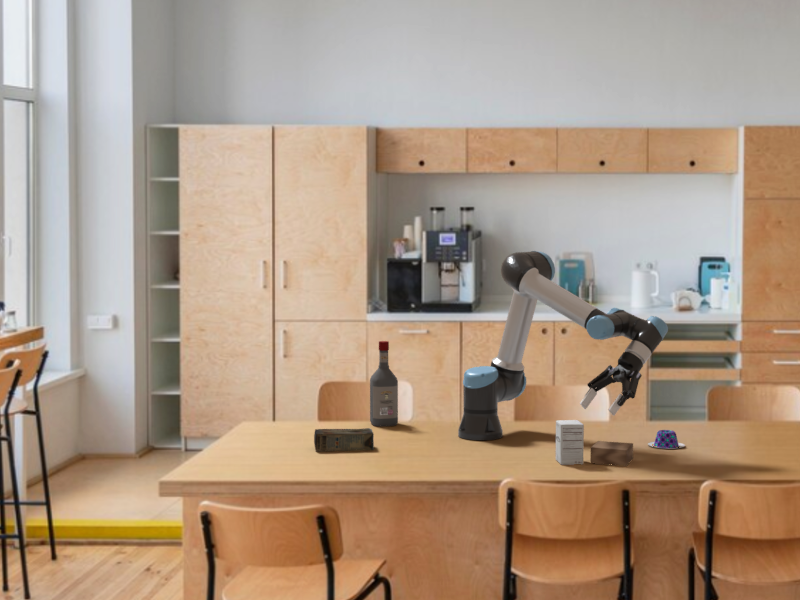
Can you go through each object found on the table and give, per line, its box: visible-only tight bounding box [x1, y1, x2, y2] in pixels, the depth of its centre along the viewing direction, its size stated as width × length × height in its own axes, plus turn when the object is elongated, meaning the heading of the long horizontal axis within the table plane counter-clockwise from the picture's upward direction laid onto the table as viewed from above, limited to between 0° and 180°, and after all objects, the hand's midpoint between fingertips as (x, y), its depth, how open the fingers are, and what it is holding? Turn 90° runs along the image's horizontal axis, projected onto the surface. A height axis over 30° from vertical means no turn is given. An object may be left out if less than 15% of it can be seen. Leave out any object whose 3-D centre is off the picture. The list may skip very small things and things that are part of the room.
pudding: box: [647, 429, 686, 450], centre depth 404 cm, size 12×12×5 cm
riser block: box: [590, 440, 634, 467], centre depth 380 cm, size 11×11×5 cm
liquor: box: [369, 340, 399, 428], centre depth 442 cm, size 9×9×30 cm
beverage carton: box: [313, 427, 375, 452], centre depth 400 cm, size 8×19×7 cm, turn 97°
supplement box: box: [555, 419, 585, 466], centre depth 379 cm, size 7×7×13 cm
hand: (596, 409), depth 383 cm, fingers open, 13 cm apart
